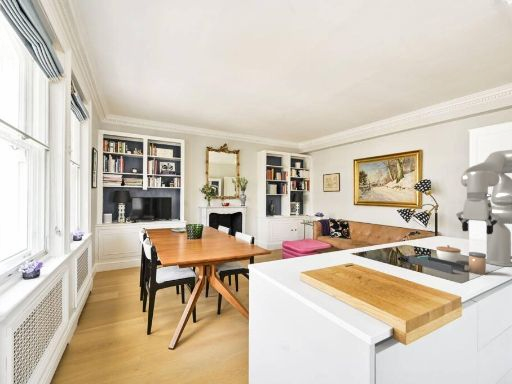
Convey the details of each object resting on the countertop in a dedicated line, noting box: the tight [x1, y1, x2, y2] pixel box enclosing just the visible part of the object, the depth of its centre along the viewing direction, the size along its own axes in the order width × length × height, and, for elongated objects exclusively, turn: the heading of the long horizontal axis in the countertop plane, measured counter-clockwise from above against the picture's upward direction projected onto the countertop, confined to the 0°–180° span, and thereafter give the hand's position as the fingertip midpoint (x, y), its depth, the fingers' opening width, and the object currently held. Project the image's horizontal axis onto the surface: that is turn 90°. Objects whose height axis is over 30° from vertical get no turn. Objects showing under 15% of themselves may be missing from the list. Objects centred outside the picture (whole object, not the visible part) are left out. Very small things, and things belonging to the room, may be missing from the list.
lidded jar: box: [435, 245, 462, 263], centre depth 138 cm, size 11×11×9 cm
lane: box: [407, 253, 465, 275], centre depth 130 cm, size 10×22×4 cm, turn 22°
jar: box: [468, 251, 487, 276], centre depth 120 cm, size 6×6×9 cm
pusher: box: [417, 255, 429, 260], centre depth 135 cm, size 7×1×4 cm, turn 112°
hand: (476, 232), depth 120 cm, fingers open, 9 cm apart
